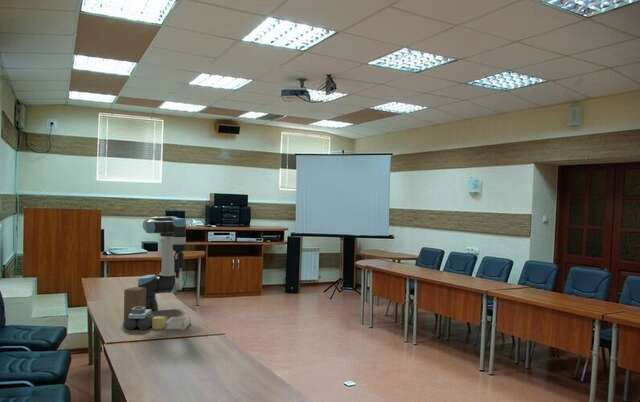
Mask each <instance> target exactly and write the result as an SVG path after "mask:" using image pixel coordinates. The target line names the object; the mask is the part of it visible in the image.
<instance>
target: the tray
mask: <svg viewBox="0 0 640 402" xmlns="http://www.w3.org/2000/svg"><path fill="white" fill-rule="evenodd" d="M190 325H191V316H171V317H170V318H168V319H167V320H166V321H165V327H164V330H165V331H185V330H186V329H188V327H189V326H190Z"/></svg>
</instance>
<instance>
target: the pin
mask: <svg viewBox="0 0 640 402" xmlns="http://www.w3.org/2000/svg"><path fill="white" fill-rule="evenodd" d="M182 270H183V269H182V268H180V283H175V290H176V291H181V290H182V287H183V286H182V282H183V281H182V280H183V271H182Z"/></svg>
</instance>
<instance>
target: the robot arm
mask: <svg viewBox="0 0 640 402" xmlns="http://www.w3.org/2000/svg"><path fill="white" fill-rule="evenodd" d="M186 220H187V219H186V218H181V217H178V216H172V215H171V216H168V215H167V216H166V215H165V216H151V217H148V218H146V219H145V220H144V221H143V222H142V228H143V230H144V231H145V233H146V234H159V235H160V238H161V239H162V240H161V243H162V244H161V272H159V274H158V276H156V274H146V275H142V276H140V277H139V278H138V279H137V287H143V288H146V309H149V310H152V312H153V311H156V310H158V309H159V304H158V301H157V298H156V297H157V296H156V294H167V293H168V294H171V293H175V292H177V290H175V283H180V268H182V272H184V256H185V253H183V252H184V251H186V244H187V243H186V241H187V239H186V232H187V231H186V230H187V221H186Z"/></svg>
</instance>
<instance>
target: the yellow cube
mask: <svg viewBox="0 0 640 402" xmlns="http://www.w3.org/2000/svg"><path fill="white" fill-rule="evenodd" d="M165 322H166V317H165V316H155V317H154V318H152V325H151V329H155V330H156V329H165Z"/></svg>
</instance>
